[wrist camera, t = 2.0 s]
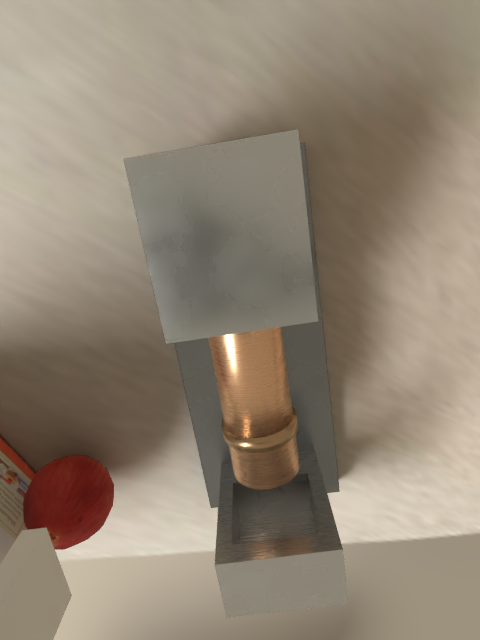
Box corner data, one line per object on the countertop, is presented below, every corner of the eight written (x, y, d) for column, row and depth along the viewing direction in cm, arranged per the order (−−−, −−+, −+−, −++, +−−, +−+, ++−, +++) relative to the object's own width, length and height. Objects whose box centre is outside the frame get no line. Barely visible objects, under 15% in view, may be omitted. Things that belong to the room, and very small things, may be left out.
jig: (211, 497, 34) (201, 620, 24) (141, 171, 26) (84, 165, 16) (336, 480, 33) (374, 600, 24) (301, 144, 25) (338, 121, 16)
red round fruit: (124, 498, 34) (91, 590, 26) (52, 492, 33) (-3, 582, 26) (126, 436, 32) (91, 516, 24) (50, 429, 32) (-10, 507, 24)
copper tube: (231, 448, 28) (229, 496, 23) (176, 160, 22) (161, 155, 18) (297, 440, 27) (308, 486, 23) (258, 146, 22) (263, 138, 18)
